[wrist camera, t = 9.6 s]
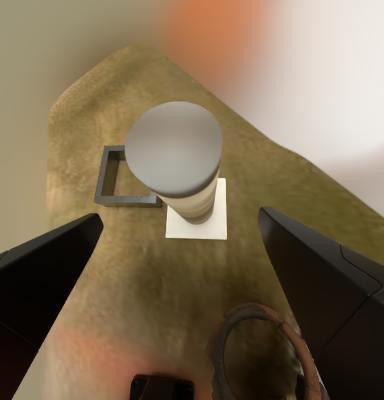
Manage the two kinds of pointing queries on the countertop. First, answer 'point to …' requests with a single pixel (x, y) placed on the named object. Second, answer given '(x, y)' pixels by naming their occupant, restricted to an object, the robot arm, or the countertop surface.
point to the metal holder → (108, 182)
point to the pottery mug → (309, 383)
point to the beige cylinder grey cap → (178, 157)
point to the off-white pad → (206, 230)
